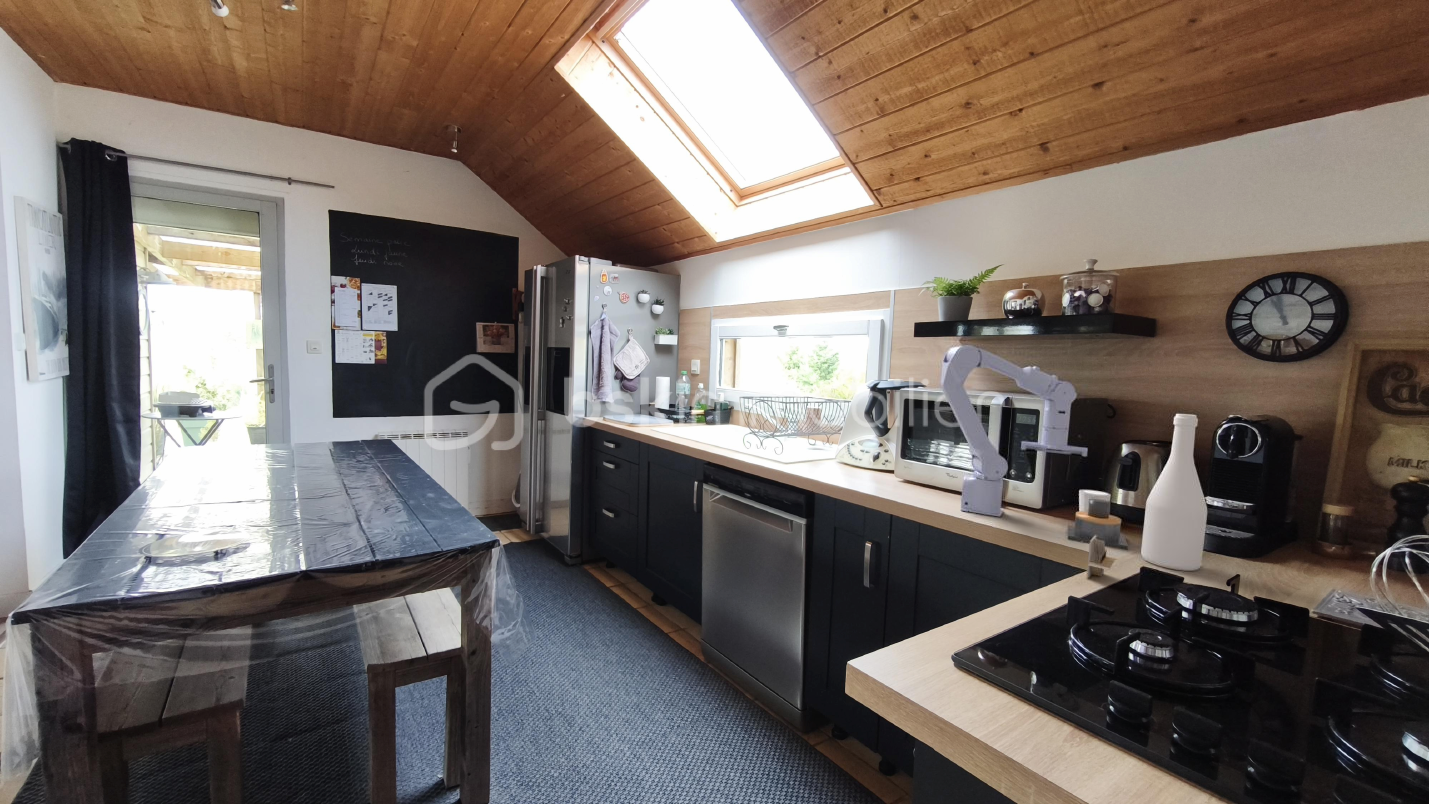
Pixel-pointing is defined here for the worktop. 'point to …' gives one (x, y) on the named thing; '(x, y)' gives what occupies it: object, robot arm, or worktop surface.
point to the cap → (1098, 513)
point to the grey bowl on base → (1097, 533)
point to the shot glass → (1090, 494)
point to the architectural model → (1098, 558)
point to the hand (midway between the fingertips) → (1050, 480)
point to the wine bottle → (1176, 506)
